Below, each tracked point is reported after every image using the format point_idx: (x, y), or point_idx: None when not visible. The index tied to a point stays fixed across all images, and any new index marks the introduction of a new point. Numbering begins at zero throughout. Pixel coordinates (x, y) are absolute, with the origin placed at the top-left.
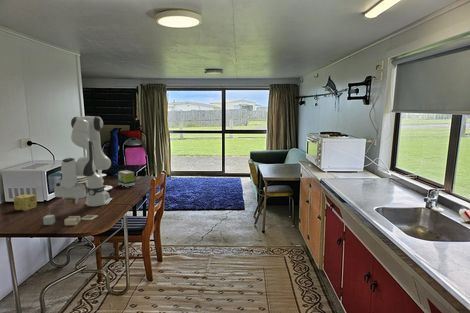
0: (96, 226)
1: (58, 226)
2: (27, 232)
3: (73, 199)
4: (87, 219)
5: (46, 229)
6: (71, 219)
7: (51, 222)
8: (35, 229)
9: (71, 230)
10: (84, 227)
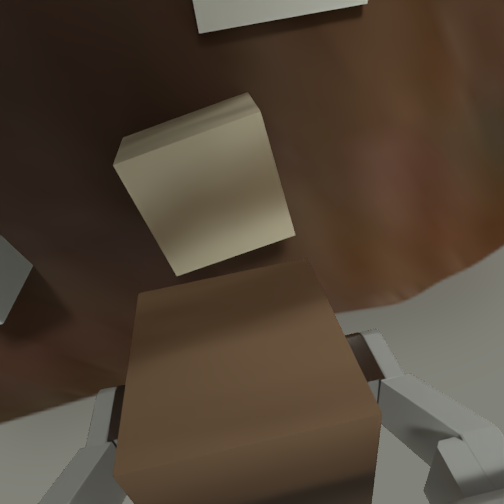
0: (497, 170)
1: (149, 277)
2: (48, 406)
3: (369, 485)
4: (302, 14)
5: (119, 342)
6: (250, 248)
7: (21, 281)
8: (34, 368)
9: (328, 294)
10: (397, 221)
